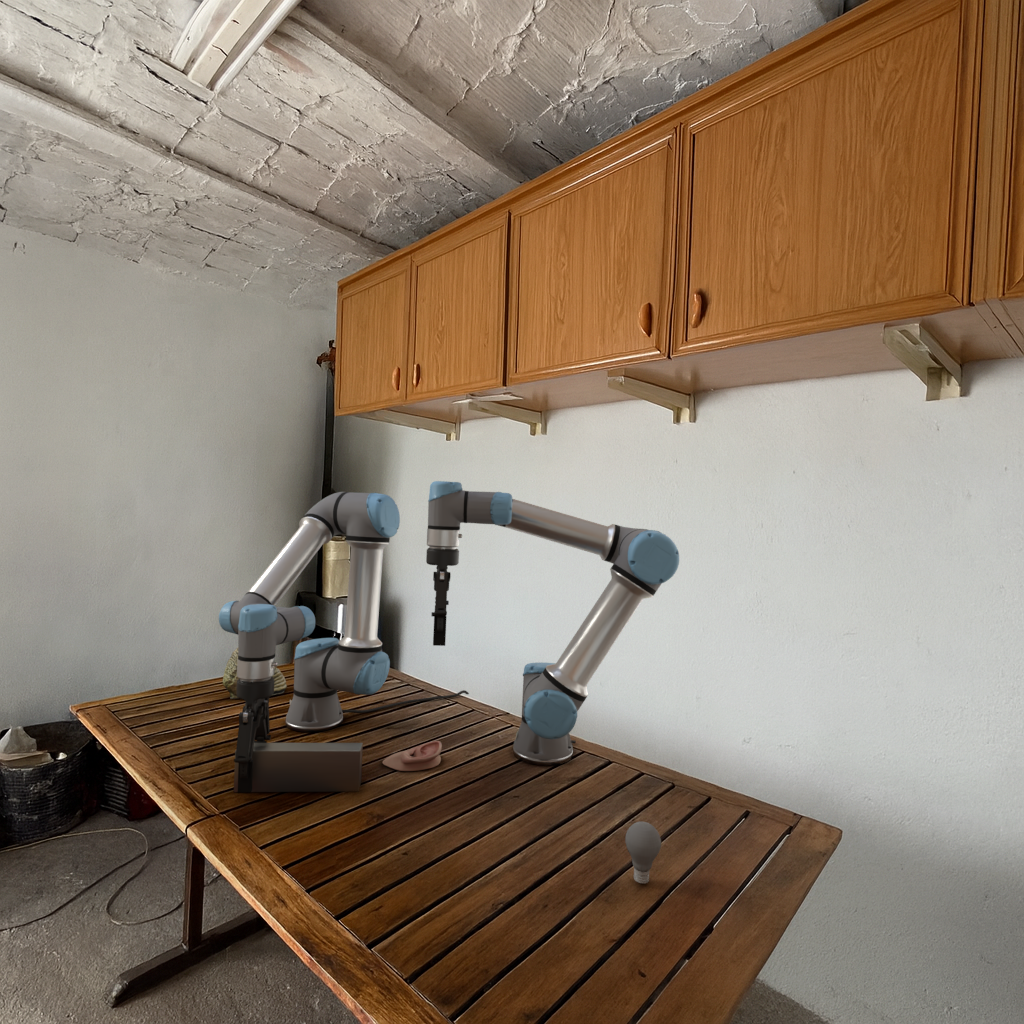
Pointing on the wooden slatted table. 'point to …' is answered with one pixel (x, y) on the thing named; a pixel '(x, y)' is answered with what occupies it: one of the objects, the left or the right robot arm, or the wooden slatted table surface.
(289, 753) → the bar
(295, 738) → the wooden slatted table surface
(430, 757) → the anatomical model
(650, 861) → the light bulb
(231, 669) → the fossil
